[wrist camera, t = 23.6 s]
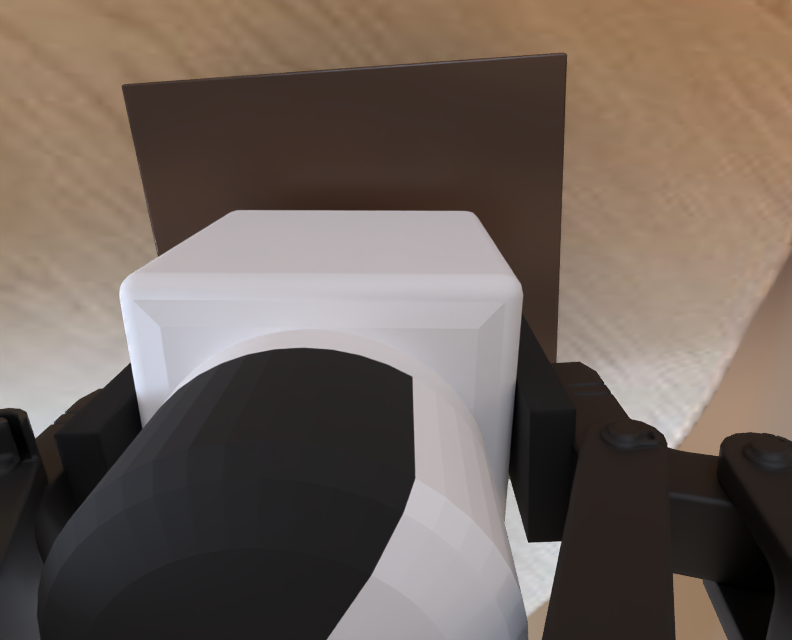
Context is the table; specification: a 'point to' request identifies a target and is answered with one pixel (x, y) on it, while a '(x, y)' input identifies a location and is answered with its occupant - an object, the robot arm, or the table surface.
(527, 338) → the robot arm
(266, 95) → the dresser
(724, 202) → the table surface
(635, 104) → the table surface
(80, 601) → the medicine bottle
